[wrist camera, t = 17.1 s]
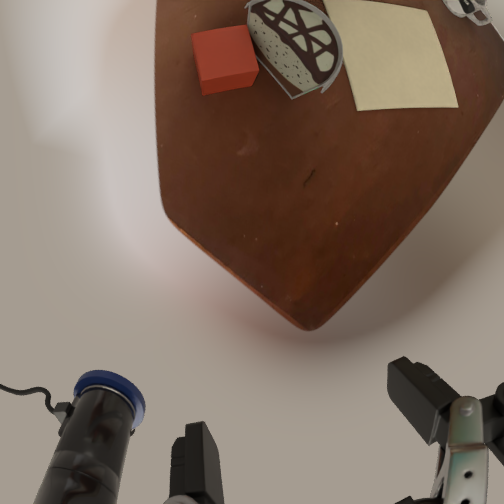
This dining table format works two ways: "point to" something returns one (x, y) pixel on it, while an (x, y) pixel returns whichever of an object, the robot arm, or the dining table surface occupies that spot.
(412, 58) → the linen cloth
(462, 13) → the mug
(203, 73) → the red block
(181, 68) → the dining table surface
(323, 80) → the food container
